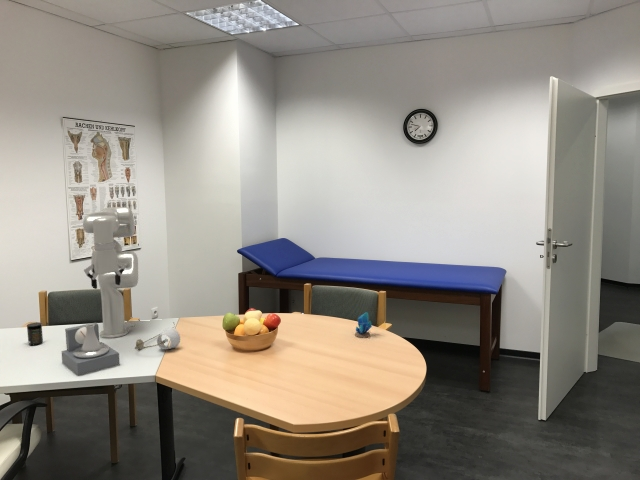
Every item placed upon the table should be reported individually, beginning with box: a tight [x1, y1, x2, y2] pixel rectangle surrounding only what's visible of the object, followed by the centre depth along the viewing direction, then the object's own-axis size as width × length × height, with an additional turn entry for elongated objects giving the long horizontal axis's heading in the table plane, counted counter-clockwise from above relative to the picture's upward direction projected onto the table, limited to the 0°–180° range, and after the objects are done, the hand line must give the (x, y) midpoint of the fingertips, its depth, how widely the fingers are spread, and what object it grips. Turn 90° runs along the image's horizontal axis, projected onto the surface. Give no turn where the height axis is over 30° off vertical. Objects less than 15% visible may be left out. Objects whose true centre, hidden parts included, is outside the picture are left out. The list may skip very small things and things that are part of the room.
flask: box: [81, 323, 102, 352], centre depth 203 cm, size 7×7×10 cm
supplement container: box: [26, 322, 44, 347], centre depth 228 cm, size 6×6×9 cm
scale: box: [61, 322, 121, 377], centre depth 205 cm, size 16×18×14 cm
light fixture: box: [134, 323, 181, 351], centre depth 233 cm, size 9×18×40 cm
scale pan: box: [73, 344, 110, 358], centre depth 204 cm, size 13×13×1 cm
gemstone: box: [354, 311, 373, 339], centre depth 240 cm, size 7×9×12 cm
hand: (106, 286), depth 217 cm, fingers open, 9 cm apart
